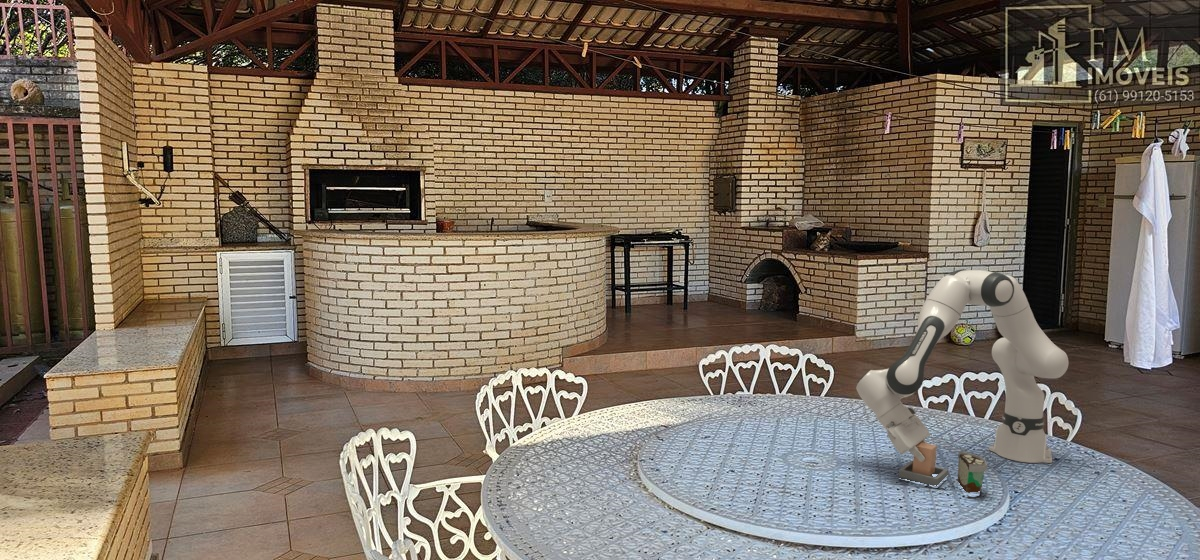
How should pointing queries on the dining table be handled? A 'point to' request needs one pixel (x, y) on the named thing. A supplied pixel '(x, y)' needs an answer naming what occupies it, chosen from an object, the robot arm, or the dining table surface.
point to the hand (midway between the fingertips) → (927, 457)
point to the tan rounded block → (929, 463)
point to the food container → (971, 471)
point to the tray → (922, 475)
